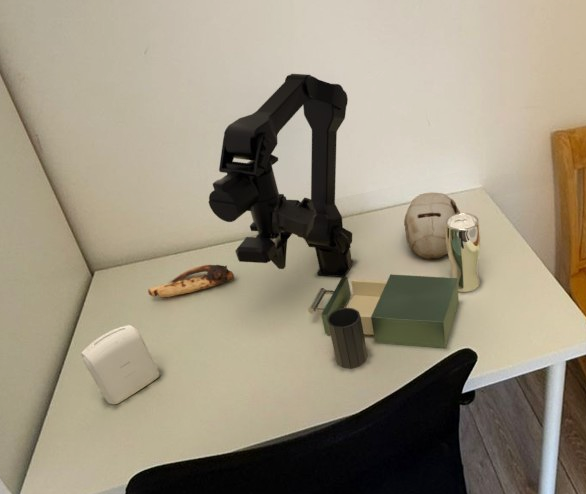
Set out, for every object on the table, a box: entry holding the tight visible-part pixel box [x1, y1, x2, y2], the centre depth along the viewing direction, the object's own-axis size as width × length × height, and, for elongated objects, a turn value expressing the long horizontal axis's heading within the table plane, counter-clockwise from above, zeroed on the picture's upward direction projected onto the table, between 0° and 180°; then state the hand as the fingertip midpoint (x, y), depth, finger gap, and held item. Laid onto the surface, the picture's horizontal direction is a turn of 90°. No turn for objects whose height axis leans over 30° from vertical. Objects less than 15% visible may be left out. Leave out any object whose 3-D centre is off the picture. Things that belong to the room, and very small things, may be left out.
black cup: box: [327, 307, 369, 370], centre depth 115 cm, size 6×6×10 cm
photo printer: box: [80, 324, 161, 405], centre depth 112 cm, size 10×4×12 cm, turn 140°
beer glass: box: [445, 212, 481, 293], centre depth 129 cm, size 7×7×15 cm
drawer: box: [307, 276, 388, 336], centre depth 125 cm, size 17×13×5 cm
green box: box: [371, 274, 460, 349], centre depth 122 cm, size 14×14×6 cm
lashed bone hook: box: [147, 264, 235, 298], centre depth 139 cm, size 9×5×18 cm
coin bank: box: [403, 192, 461, 260], centre depth 143 cm, size 16×17×13 cm
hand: (282, 268), depth 123 cm, fingers closed
